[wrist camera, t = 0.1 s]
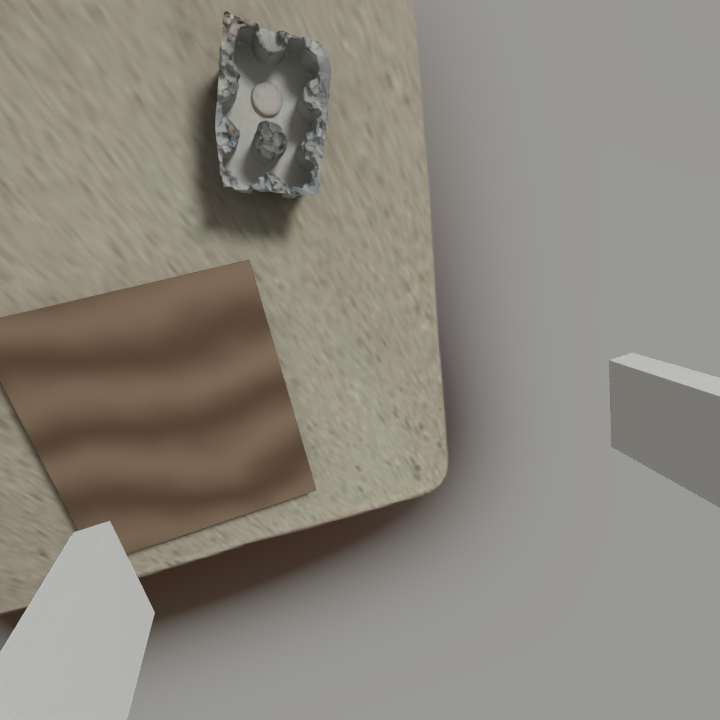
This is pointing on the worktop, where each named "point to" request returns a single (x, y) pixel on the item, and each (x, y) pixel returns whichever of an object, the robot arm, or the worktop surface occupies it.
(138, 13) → the worktop surface
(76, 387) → the walnut board
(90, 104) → the worktop surface
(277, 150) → the egg carton
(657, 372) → the robot arm
